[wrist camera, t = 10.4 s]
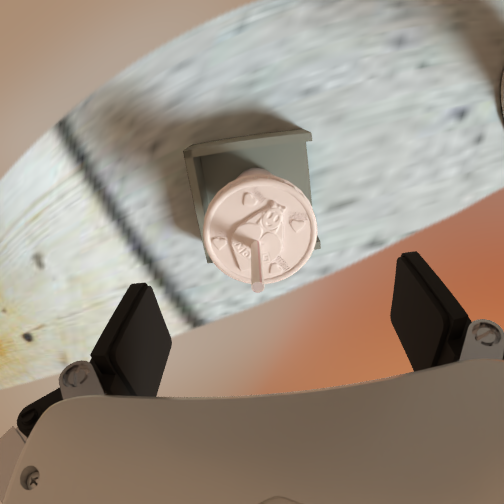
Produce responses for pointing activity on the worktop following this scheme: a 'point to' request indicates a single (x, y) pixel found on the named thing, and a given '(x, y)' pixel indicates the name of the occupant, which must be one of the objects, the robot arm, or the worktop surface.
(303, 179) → the bay
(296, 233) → the smoothie
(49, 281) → the worktop surface
